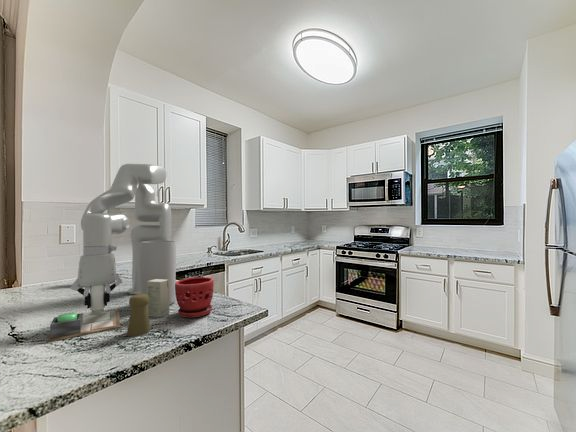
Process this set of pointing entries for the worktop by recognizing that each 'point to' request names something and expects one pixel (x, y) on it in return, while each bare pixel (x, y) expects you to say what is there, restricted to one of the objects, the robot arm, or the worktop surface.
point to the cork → (138, 315)
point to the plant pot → (194, 296)
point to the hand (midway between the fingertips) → (97, 305)
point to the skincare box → (158, 297)
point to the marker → (97, 298)
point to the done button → (67, 317)
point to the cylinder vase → (159, 264)
